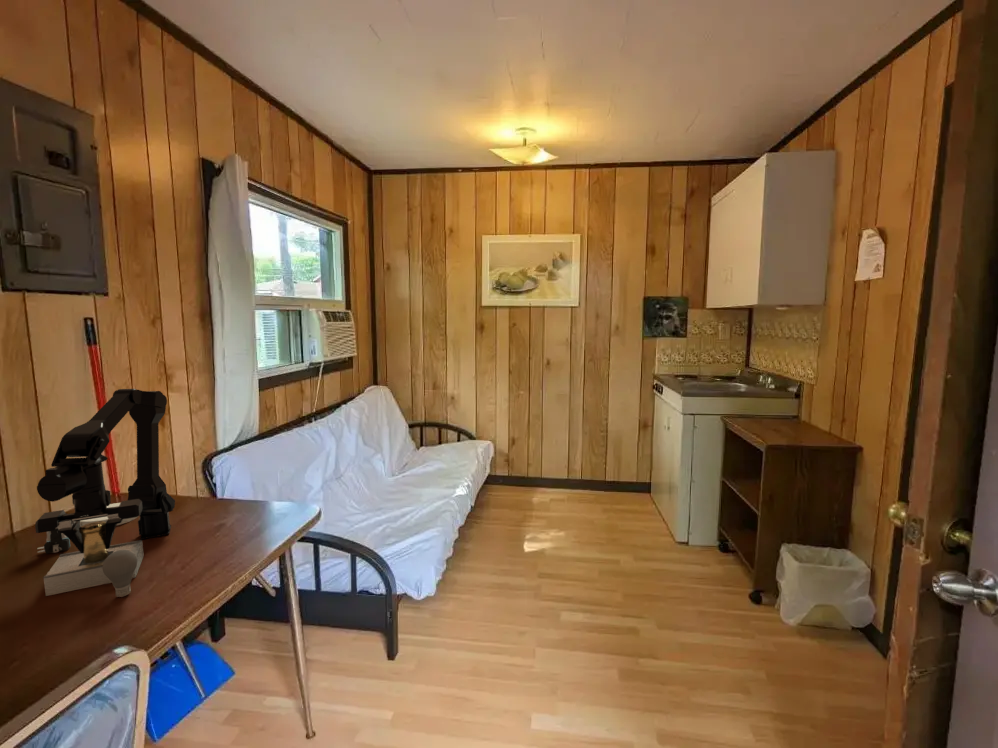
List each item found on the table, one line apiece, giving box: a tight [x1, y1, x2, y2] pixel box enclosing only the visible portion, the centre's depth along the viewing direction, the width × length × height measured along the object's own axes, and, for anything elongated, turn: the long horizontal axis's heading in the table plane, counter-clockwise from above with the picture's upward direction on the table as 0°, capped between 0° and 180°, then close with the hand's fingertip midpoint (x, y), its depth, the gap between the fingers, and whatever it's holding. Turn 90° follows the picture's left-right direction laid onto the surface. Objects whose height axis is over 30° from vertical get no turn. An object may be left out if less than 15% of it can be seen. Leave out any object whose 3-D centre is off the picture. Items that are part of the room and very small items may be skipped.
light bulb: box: [102, 550, 137, 598], centre depth 110 cm, size 6×6×10 cm
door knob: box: [79, 521, 109, 563], centre depth 118 cm, size 5×5×8 cm
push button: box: [36, 510, 71, 554], centre depth 131 cm, size 7×5×10 cm
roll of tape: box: [80, 502, 138, 527], centre depth 152 cm, size 16×15×3 cm
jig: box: [43, 539, 145, 597], centre depth 119 cm, size 16×12×4 cm
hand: (95, 550), depth 119 cm, fingers closed on door knob, 4 cm apart
